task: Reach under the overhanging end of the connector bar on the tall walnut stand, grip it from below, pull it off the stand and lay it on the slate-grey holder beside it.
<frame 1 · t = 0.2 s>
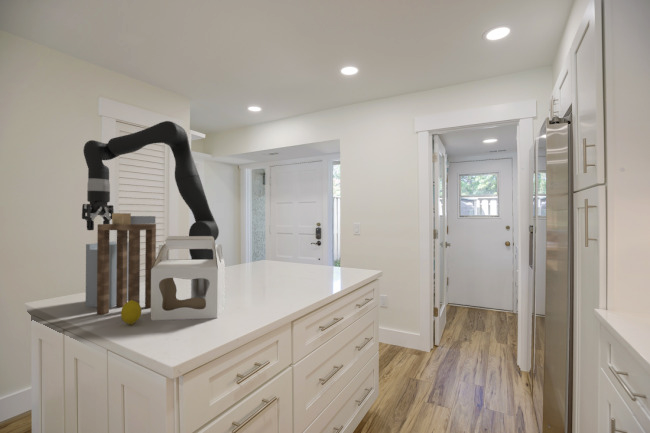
hand: (98, 229, 129), 29 cm above the countertop, tool pointing down, fingers open, 8 cm apart
walnut stand: (127, 310, 116), on the countertop
lemon: (131, 325, 101), on the countertop
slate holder: (111, 301, 127), on the countertop
connector bar: (136, 223, 121), point 32 cm above the countertop, touching walnut stand
gable box: (190, 314, 113), on the countertop
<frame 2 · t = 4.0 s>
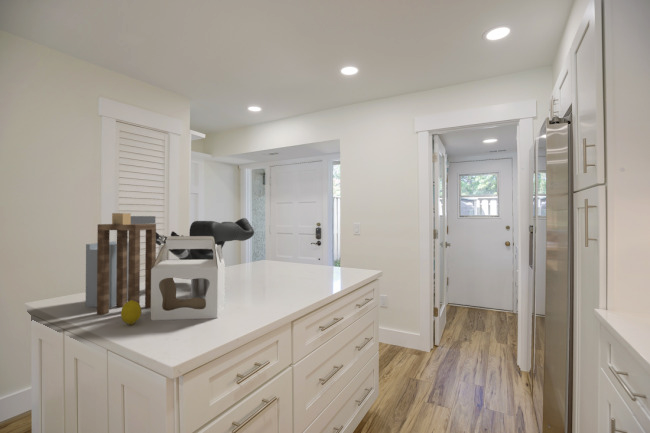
hand: (162, 233, 139), 27 cm above the countertop, tool pointing upward, fingers open, 8 cm apart
nothing on the countertop moved.
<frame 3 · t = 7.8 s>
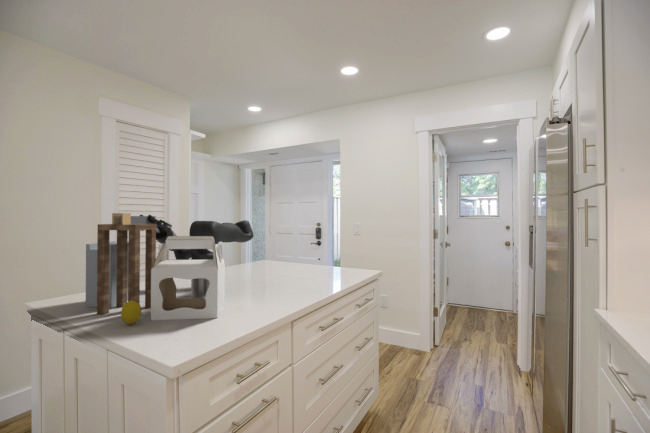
hand: (144, 216, 126), 35 cm above the countertop, tool pointing upward, fingers closed on connector bar, 3 cm apart
connector bar: (136, 223, 121), point 32 cm above the countertop, touching gripper, walnut stand
everything else where it was.
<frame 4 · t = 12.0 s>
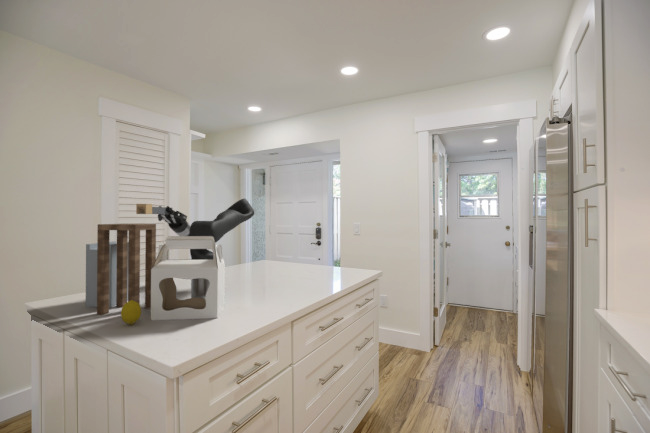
hand: (163, 208, 139), 39 cm above the countertop, tool pointing upward, fingers closed on connector bar, 3 cm apart
connector bar: (156, 214, 134), point 36 cm above the countertop, touching gripper
everything else where it was.
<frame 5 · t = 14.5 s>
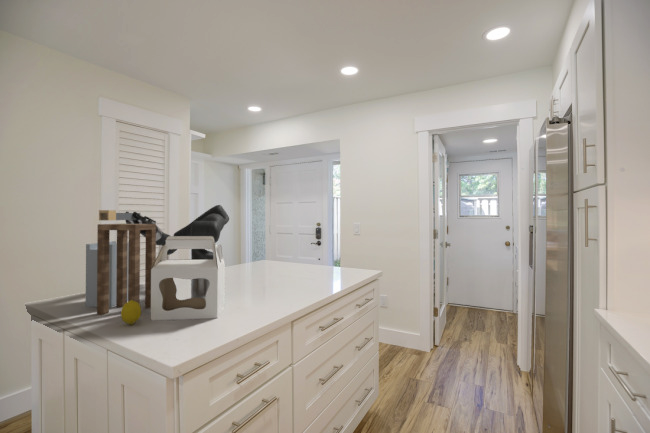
hand: (129, 213, 138), 36 cm above the countertop, tool pointing upward, fingers closed on connector bar, 3 cm apart
connector bar: (121, 219, 133), point 33 cm above the countertop, touching gripper
everything else where it was.
when the fingers open (26 cm above the countertop, at t = 16.5 s): connector bar drops 1 cm, resting on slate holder.
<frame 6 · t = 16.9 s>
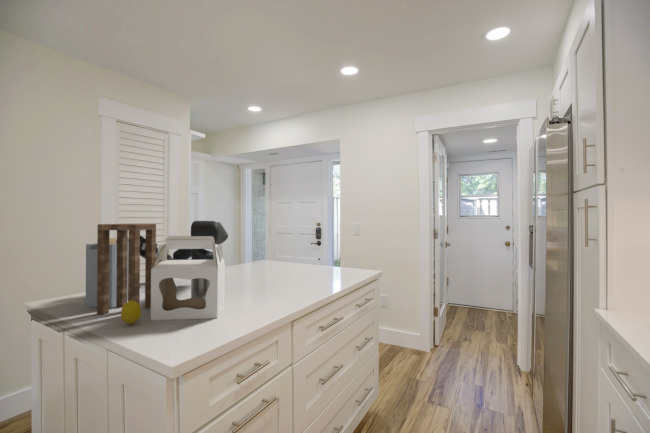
hand: (130, 237, 138), 26 cm above the countertop, tool pointing upward, fingers open, 7 cm apart
connector bar: (121, 246, 133), point 22 cm above the countertop, touching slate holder
everything else where it was.
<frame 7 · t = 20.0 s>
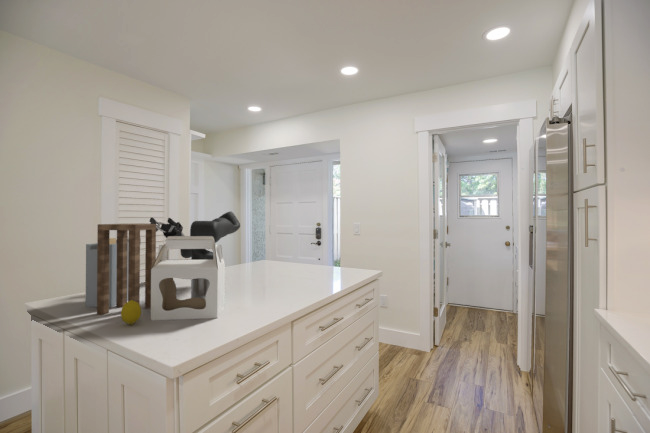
hand: (159, 219, 149), 34 cm above the countertop, tool pointing upward, fingers open, 8 cm apart
nothing on the countertop moved.
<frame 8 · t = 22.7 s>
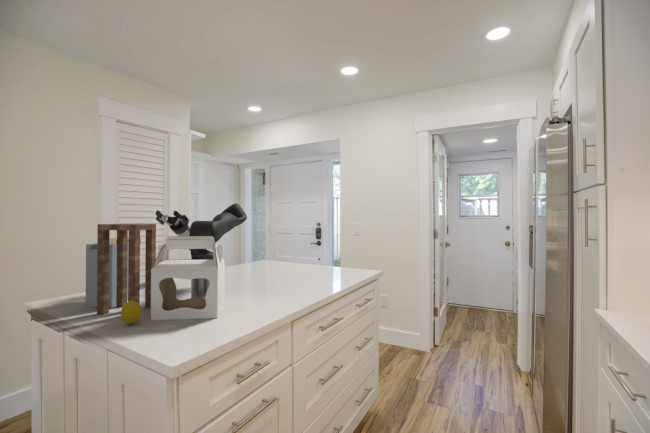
hand: (165, 212, 148), 37 cm above the countertop, tool pointing upward, fingers open, 8 cm apart
nothing on the countertop moved.
at the end: the gripper is holding nothing; connector bar inside the target area on the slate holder (1.1 cm from its centre), point 22.0 cm above the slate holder's base; connector bar tilted 0° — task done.
